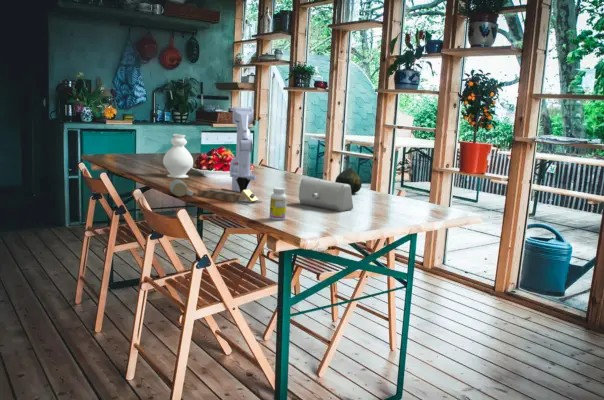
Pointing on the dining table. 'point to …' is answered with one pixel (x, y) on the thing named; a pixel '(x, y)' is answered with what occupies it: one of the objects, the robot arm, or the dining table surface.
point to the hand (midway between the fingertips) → (242, 193)
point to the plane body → (221, 194)
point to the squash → (350, 179)
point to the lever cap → (249, 196)
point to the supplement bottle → (278, 204)
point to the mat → (246, 202)
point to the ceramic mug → (179, 188)
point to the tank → (325, 194)
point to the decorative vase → (178, 158)
